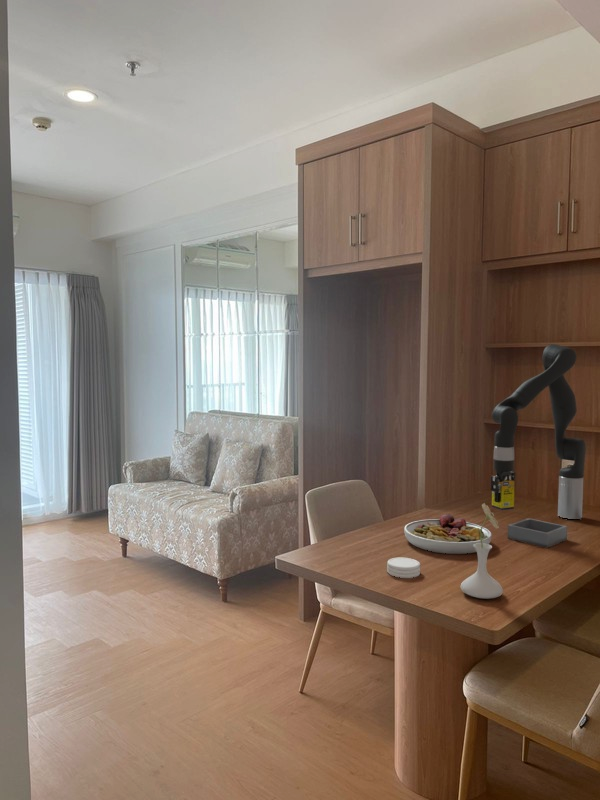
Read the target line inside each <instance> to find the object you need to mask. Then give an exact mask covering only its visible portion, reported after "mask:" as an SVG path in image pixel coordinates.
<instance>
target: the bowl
mask: <svg viewBox="0 0 600 800" xmlns="http://www.w3.org/2000/svg"><path fill="white" fill-rule="evenodd" d="M481 527H482V525H479V524H476V523H473V522H472V523H471V522H467V521H466V519H464V518H463V517H458V518H457V519H455V518H454V516H453V515H452V514H450V513H445V514H442V515H440V518H438V519H437V518H436V519H435V518H434V519H432V518H431V519H420V520H416V521H415V520H414V521H412V522H409V523H407V524H405V526H404V529H403V530H404V531H403V532H404V535H405V538H406V540H407V541H408V542H409V543H410V544H411V545H413V546H414V547H417V548H419V549H421V550H424V551H427V550H428V552H431V551H432V552H433V553H438V554H445V553H446V554H447V555H465V554H466V555H467V553H468V554H473V553H477V551H476V549H475V547H474V546H473V545H474V544H476V543H481V540H480V539H481V537H480V531H479V529H480V530H481ZM482 535H483V537H482V538H484V537H485V536H486V535H487V536H488V538H486V539H484V540H482V543H485V544H489V545H490V543H491V540H492V532H491V531H490V530H489V529H488V528H486V527H484V526H483V528H482ZM432 552H431V553H432Z"/></svg>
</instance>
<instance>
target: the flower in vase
mask: <svg viewBox="0 0 600 800" xmlns="http://www.w3.org/2000/svg"><path fill="white" fill-rule="evenodd" d="M481 507H482V510H483V512H484V514H485V518H484V521H483V523H482V524H481V526H482V527H481V530H480V529H479V531H480V537H481V539H480V540H481V543H476V544H474V545H473V546H474V547H475V549H476V551H477V552H476V554H477V569H476V572H474V573H473V574H471V575H470V576H468V577H467V578H465V579H464V580H463V581H462V582H461V584H460V589H461V591H462V592H463V593H464V594H466V595H468V596H470V597H473V598H477V599H486V600H490V599H496V598H499V597H500V596H501V595H502V594H503V593H504V589H503V587H502V586H501V584H500V583H499V582H498V581H497V580H496V579H494V577H492V576H491V574H489V573H488V570H487V563H488V562H487V560H488V555H489V553H490V551H491V550H492V548H493V546H492V545H491V544H490V543H489V544H485V543H482V540H484V539H486V538H488V536H487V535H486V536H485V537H484V538H482V537H483V535H482V528H483V527H484V526H485V523H486V521H487V520H488V521H489V522H490V524H491V525H492V526H493V527H494V528H495V529H496V530H497V529H500V526H499V522H498V520H497V519H496V518H495V514H494V512H491V509H490V507H489V506H488V505H486V503H485V502H484V503H482V504H481Z"/></svg>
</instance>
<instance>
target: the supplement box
mask: <svg viewBox="0 0 600 800" xmlns="http://www.w3.org/2000/svg"><path fill="white" fill-rule="evenodd" d="M498 484H500V485H501V486H502V487H501V502H499V503H498V502H495V501H494V496H495V493H494V492H493V491H491V507H492V508H495V509H498V510H499V511H504V510H505V511H506V510H514V509H515V487H514V481H512V480H506V481H504V482H500V481H498ZM494 487H495V485H494ZM498 489H499V487H498Z"/></svg>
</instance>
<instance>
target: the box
mask: <svg viewBox="0 0 600 800" xmlns="http://www.w3.org/2000/svg"><path fill="white" fill-rule="evenodd" d="M507 539H509V540H512V539H513V541H516V540H517V542H520V541H521V543H524V542H526V543H525V544H528V543H529V545H533V546H537V547H541V548H545V547H546V549H549V548H551V547H553V545H554V546H555V544H556V545H558V544H561V543H563V542H565V541H568V526H567V525H563V524H557V523H553V522H548V521H543V520H539V519H533V518H530V517H529V518H528V517H527V518H525V519H522V520H519V521H516V522H514V523H510V524H508V525H507ZM564 540H565V541H564ZM562 541H563V542H562ZM560 542H561V543H560ZM557 543H558V544H557ZM548 547H549V548H548Z"/></svg>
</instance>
